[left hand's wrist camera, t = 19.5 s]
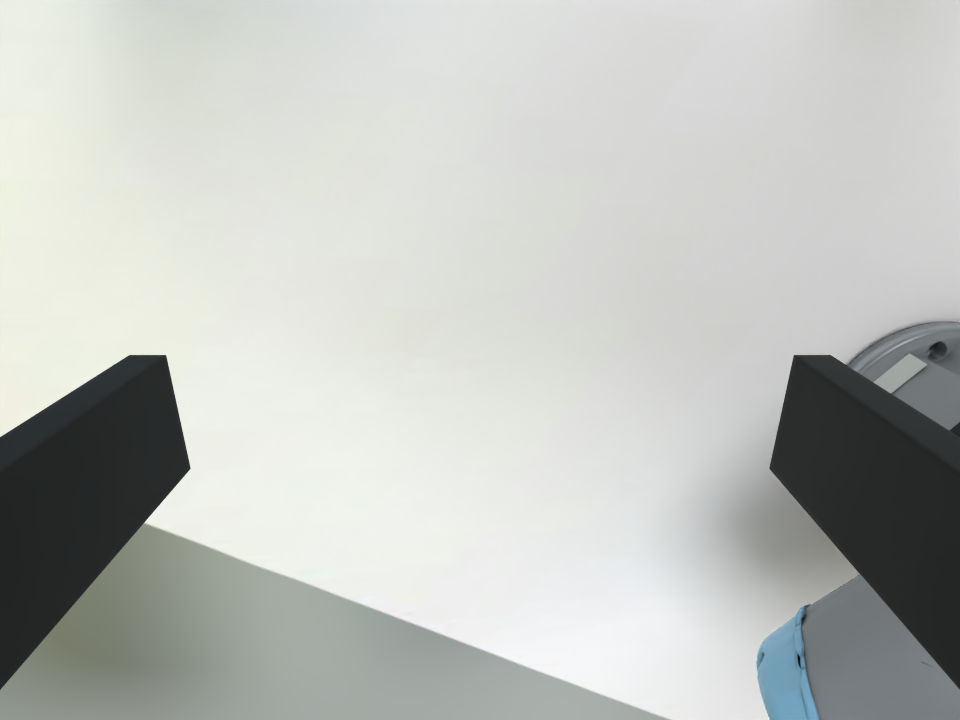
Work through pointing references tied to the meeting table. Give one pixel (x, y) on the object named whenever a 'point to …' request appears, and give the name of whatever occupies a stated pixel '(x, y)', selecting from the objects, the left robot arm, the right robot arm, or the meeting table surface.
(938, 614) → the left robot arm
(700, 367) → the meeting table surface
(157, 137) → the meeting table surface
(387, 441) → the meeting table surface
